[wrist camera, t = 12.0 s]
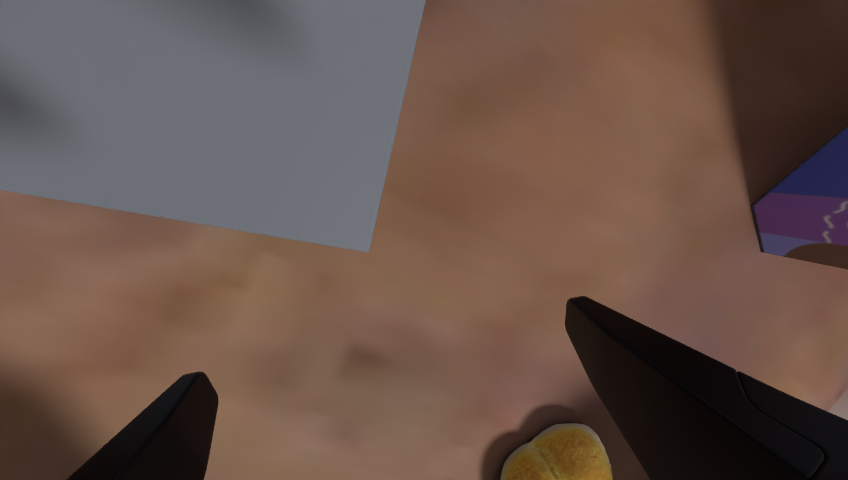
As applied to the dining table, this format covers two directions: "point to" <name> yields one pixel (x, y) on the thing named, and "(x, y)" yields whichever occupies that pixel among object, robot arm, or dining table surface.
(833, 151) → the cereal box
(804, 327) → the dining table surface
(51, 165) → the jig
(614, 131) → the dining table surface
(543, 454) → the bread roll
